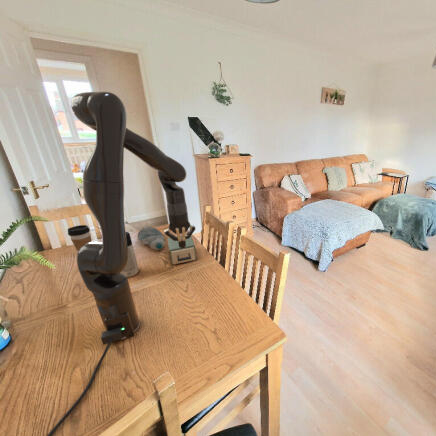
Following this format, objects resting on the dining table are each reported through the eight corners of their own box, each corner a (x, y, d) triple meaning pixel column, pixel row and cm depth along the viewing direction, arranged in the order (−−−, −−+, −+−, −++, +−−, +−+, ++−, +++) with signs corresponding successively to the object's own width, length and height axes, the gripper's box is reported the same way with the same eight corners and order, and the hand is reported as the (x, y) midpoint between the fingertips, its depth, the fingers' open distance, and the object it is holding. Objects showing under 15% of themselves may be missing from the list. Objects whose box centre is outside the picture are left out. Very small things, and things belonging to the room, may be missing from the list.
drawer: (197, 264, 117) (195, 252, 115) (173, 269, 113) (171, 257, 110) (192, 248, 131) (190, 237, 129) (171, 252, 126) (169, 241, 124)
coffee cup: (71, 255, 121) (61, 229, 115) (89, 248, 129) (80, 222, 123) (83, 259, 119) (74, 232, 113) (100, 251, 127) (92, 225, 121)
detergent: (135, 239, 140) (145, 256, 122) (134, 227, 138) (143, 243, 120) (160, 234, 148) (172, 250, 131) (159, 224, 146) (171, 238, 129)
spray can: (142, 269, 113) (133, 231, 105) (132, 278, 107) (121, 238, 99) (129, 268, 114) (119, 230, 106) (118, 276, 107) (106, 237, 100)
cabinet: (196, 259, 123) (194, 245, 120) (171, 265, 118) (169, 249, 114) (192, 247, 134) (190, 234, 130) (169, 252, 128) (167, 238, 125)
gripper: (160, 216, 95) (166, 254, 101) (195, 212, 101) (199, 248, 107) (159, 210, 101) (165, 246, 107) (192, 206, 107) (196, 241, 113)
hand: (182, 247), depth 107 cm, fingers closed
